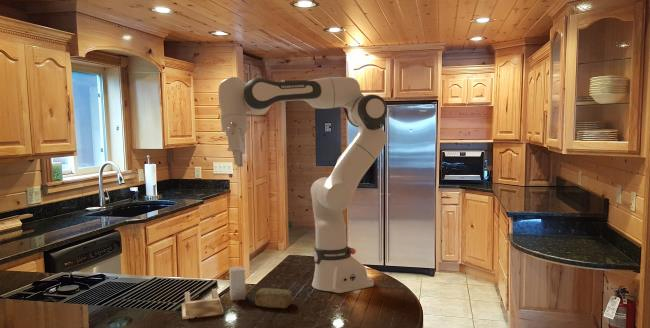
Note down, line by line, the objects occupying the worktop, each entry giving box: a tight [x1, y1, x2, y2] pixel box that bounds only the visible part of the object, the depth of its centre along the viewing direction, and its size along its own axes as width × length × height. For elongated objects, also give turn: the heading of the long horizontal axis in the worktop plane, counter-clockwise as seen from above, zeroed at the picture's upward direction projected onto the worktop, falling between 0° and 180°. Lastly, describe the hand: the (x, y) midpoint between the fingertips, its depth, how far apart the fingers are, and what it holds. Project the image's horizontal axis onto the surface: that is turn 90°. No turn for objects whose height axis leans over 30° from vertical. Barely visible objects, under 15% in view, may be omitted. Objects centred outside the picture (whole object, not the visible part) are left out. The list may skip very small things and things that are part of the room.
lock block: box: [228, 265, 246, 302], centre depth 152 cm, size 4×5×10 cm
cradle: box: [181, 288, 224, 320], centre depth 141 cm, size 12×12×4 cm
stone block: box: [254, 287, 293, 309], centre depth 145 cm, size 6×12×5 cm, turn 76°
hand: (239, 165), depth 152 cm, fingers open, 8 cm apart
